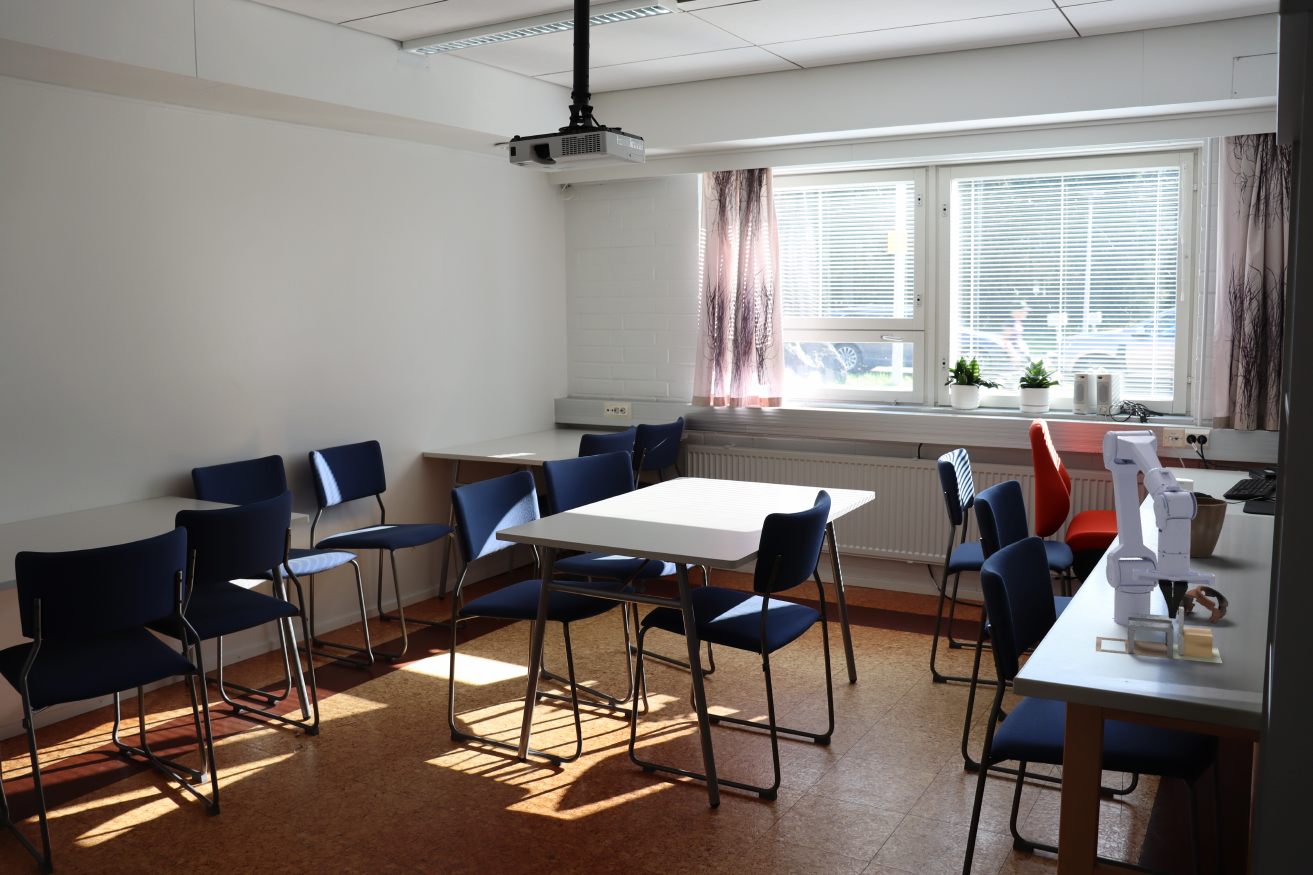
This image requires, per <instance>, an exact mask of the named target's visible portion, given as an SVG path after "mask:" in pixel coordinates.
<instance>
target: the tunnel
mask: <svg viewBox="0 0 1313 875" xmlns="http://www.w3.org/2000/svg"><path fill="white" fill-rule="evenodd" d="M1135 630H1138V631H1139V630H1140V631H1149V632H1150V631H1151V632H1158V633H1159V632H1160V633H1164V635H1165V637H1164V643H1165V645H1167V657H1169V658H1168V659H1172V658H1173V644H1174V634H1175V633H1174V632H1175V630H1174V624H1173V619H1171V618H1169V616H1168V615H1165V614H1163V615H1161V614H1151V613H1150V614H1140V613H1128V626H1127V640H1128V654H1127V655H1131V654H1134V640H1135Z"/></svg>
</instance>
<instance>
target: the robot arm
mask: <svg viewBox="0 0 1313 875" xmlns="http://www.w3.org/2000/svg"><path fill="white" fill-rule="evenodd" d="M1101 447H1102V456H1103V463H1104V467H1105V469H1106V470H1109V471H1110V472H1111V475H1112V483H1113V490H1114V491H1113V492H1114V493H1113V494H1114V495H1113V496H1114V504H1115V514H1116V527H1117V534H1118V536H1117V537H1118V545H1116V547H1114V548H1113V549H1112V550H1110V552H1108V554H1107V555H1106V566H1105V575H1106V576H1105V577H1106V580H1107V583H1108V584H1109V585H1110V587H1111V588H1112V589H1114V597H1113V598H1114V601H1113V602H1114V607H1113V609H1114V610H1113V611H1114V612H1113V617H1112V620H1113V622H1114V623H1116V624H1118V625H1122V626H1125V627H1128V613H1140V614H1151V599H1152V598H1151V595H1152V594H1151V592H1154V591H1155V590H1154V588H1156V587H1159V590H1160V591H1161V594H1162V595H1163V598H1164V601H1165V604H1166V608H1167V614H1168V615H1167V616H1169V618H1171V619H1172V620H1175V619H1177V616H1178V614H1177V612H1178V608H1179V605H1180V603H1181V600H1182V598H1183V597H1184V595H1185V594H1186V593H1187V592H1188V591H1189V584H1194V585H1195V584H1196V585H1205V586H1206V585H1208V587H1210V586H1211V587H1215V586H1216V576H1215V573H1206V572H1205V573H1204V572H1199V571H1197V572H1196V571H1190V566H1191V565H1190V561H1191V560H1190V559H1191V557H1190V532H1191V520H1193V519H1194V518H1195V516H1196V513H1197V502H1196V498H1195V497H1196V496H1195V494H1194V491H1193V492H1192V491H1187V490H1186V489H1182V488H1181V486H1180V485H1179V483H1178V482H1177V480H1176V477H1175V476H1174V474H1173V473H1172V470H1170V469H1168V468H1166V467H1163V466H1162V464H1161V461H1160V460H1159V457H1158V455H1157V453H1158V452H1157V451H1158V447H1159V446H1158V438H1157V435H1156V434H1155V432H1154V431H1153V430H1151V429H1146V430H1126V431H1124V430H1117V431H1116V430H1115V431H1113V430H1108V431H1107V432H1106V433H1105V434H1104V437H1103V441H1102V446H1101ZM1140 471H1141V472H1142V473H1143V475H1144V477H1143V485H1144V487H1145V489H1146V490H1147V492H1148V494H1149V495H1150V496H1151V498H1152V500H1153V505H1152V507H1153V513H1154V517H1155V527H1156V528H1158V529H1157V531H1158V533H1157V537H1158V538H1157V554H1156V552H1154V551H1153V550H1152V549H1151V548H1149V547H1148V546H1146V545H1144V539H1143V538H1144V537H1143V528H1142V518H1141V509H1140V508H1141V506H1140V498H1139V488H1138V487H1139V486H1138V476H1137V475H1138V473H1139V472H1140ZM1135 558H1136V559H1135ZM1137 558H1138V559H1137ZM1172 597H1173V603H1172Z"/></svg>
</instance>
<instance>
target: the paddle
mask: <svg viewBox="0 0 1313 875" xmlns="http://www.w3.org/2000/svg"><path fill="white" fill-rule="evenodd" d="M1184 619H1185V615H1184V607H1179V615H1178V627H1177V640H1176V641H1177V643H1176V644H1177V646H1178V652H1179V654H1180V655H1184V634H1183V628H1184V627H1185V625H1184V624H1185V623H1184V622H1185V620H1184Z"/></svg>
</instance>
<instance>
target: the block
mask: <svg viewBox="0 0 1313 875" xmlns="http://www.w3.org/2000/svg"><path fill="white" fill-rule="evenodd" d="M1183 634H1184V655H1183V656H1194V657H1204V658H1212V647H1213V645H1214V644H1213V641H1214V640H1213V639H1214V638H1213V633H1212V630H1211V629H1210V628H1197V627H1187V626H1184V628H1183Z"/></svg>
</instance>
